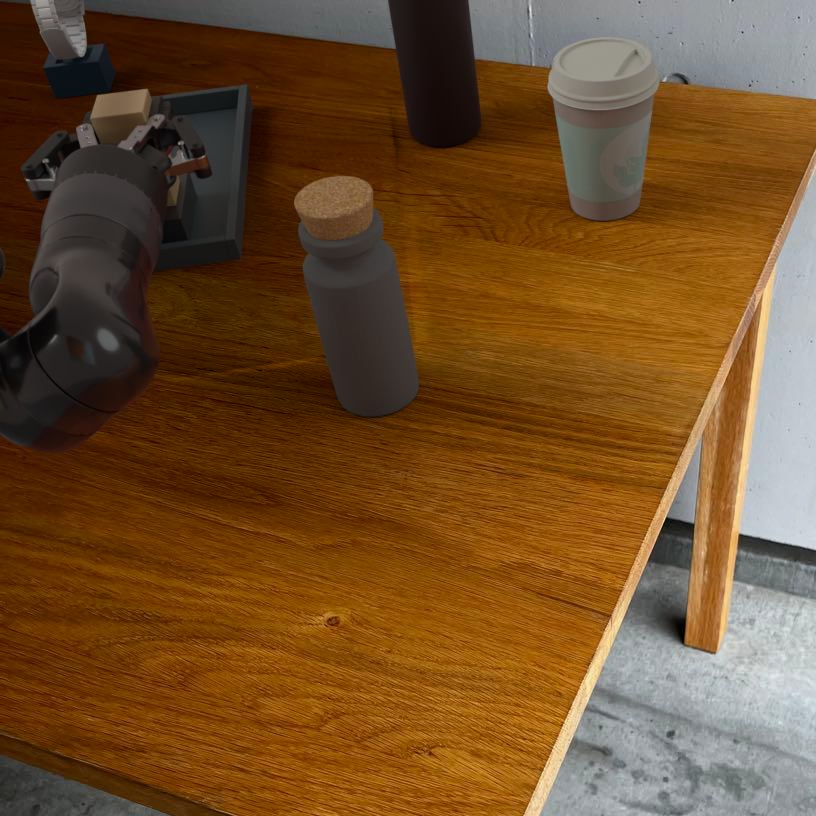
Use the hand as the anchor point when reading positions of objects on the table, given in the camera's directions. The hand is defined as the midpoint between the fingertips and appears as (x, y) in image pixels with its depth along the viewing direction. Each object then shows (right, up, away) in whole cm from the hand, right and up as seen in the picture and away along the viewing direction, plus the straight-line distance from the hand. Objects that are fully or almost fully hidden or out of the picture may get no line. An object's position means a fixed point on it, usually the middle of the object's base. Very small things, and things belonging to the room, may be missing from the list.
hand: (132, 111), depth 85 cm
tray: (0, -3, +9) cm, 10 cm away
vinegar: (+24, +3, +13) cm, 28 cm away
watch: (-14, +13, +25) cm, 31 cm away
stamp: (+1, -8, +4) cm, 9 cm away
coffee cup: (+38, -6, +3) cm, 39 cm away
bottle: (+22, -24, -11) cm, 34 cm away
